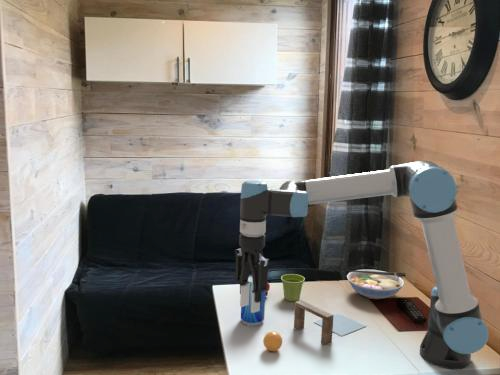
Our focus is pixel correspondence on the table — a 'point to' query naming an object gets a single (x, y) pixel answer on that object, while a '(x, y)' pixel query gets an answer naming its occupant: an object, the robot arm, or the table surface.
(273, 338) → the ball
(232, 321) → the table surface
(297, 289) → the plant pot
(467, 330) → the robot arm
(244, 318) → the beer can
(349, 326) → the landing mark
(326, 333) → the bridge
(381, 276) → the ramen bowl
